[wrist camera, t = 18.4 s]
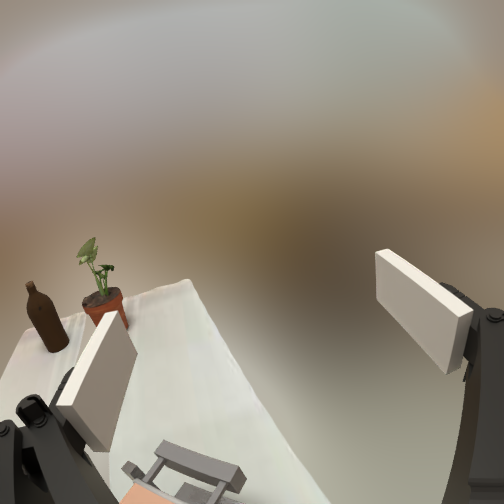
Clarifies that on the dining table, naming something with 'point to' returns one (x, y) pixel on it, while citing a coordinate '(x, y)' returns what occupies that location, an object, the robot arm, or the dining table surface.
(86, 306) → the potted plant
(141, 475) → the flap stand
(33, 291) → the olive oil
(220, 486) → the drop flap
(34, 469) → the robot arm
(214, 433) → the dining table surface
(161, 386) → the dining table surface
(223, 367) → the dining table surface
